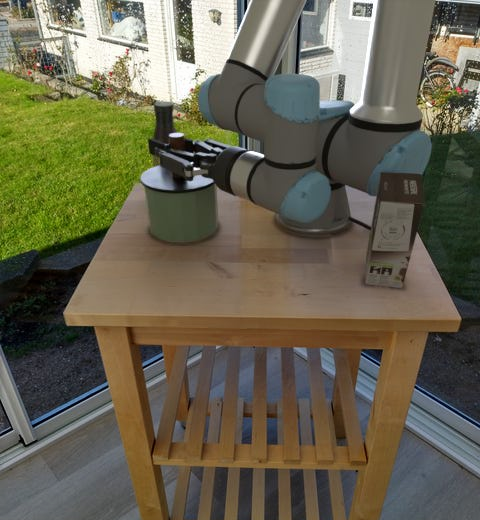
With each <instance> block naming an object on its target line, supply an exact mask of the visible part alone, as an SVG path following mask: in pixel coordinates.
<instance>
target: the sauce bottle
mask: <svg viewBox="0 0 480 520" xmlns="http://www.w3.org/2000/svg"><path fill="white" fill-rule="evenodd" d="M153 110H154V113H155V125H154V126H155V127H154V130H153V131H154V132H153V135H152V139H155V140H157V141H160V142H163V143H166V144H169V134H170V133H178V131H177V130H176V127H175V125H174V123H175V122H174V110H175V109H174V103H173V102H170V101H166V100H165V101H163V100H162V101H156V102H154V103H153ZM159 165H160V159H159V157H156V156H154V155H152V168H153V167H156V166H159Z"/></svg>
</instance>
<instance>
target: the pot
mask: <svg viewBox="0 0 480 520" xmlns="http://www.w3.org/2000/svg"><path fill="white" fill-rule="evenodd" d="M144 194H145V202H146V209H147V217H148V226H149V230H150V233H151V235H153V236H155V237H156V238H157V239H160V240H163V241H167V242H174V243H187V242H195V241H199V240H202V239H206V238H208V237H210V236H211V235H212V234H214V233H215V232H217V230H218V227H219V212H218V209H219V207H218V187H217V185H216V184H214V185H212V186H210V187H208V188H206V189H203V190H199V191H195V192H188V193H163V192H157V191H153V190H150V189H148V188H146V187H144Z"/></svg>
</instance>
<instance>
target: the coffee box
mask: <svg viewBox="0 0 480 520" xmlns="http://www.w3.org/2000/svg"><path fill="white" fill-rule="evenodd" d="M422 178H423V177H422V175H421V174H413V173H385V172H381V173H380V179H379V184H378V190H377V196H375V203H374V209H373V214H372V220H371V225H370V227H371V231H370V230H369V231H370V232H369V237H368V244H367V250H366V256H365V257H366V258H365V280H364V283H365V285H370V286H379V287H388V288H395V289H396V288H397V289H402V288H403V286H404V283H405V279H406V276H407V272H408V267H409V264H410V260H411V257H412V252H413V248H414V245H415V242H416V238H417V235H418V230H419V226H420V222H421V219H422V216H423V211H424V207H425V205H426V203H425V201H426V200H425V194H424V185H423V179H422Z"/></svg>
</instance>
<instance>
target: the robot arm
mask: <svg viewBox="0 0 480 520" xmlns="http://www.w3.org/2000/svg"><path fill="white" fill-rule="evenodd" d="M436 1H437V0H373V4H372V5H373V7H372V12H371V21H370V26H369V34H368V44H367V50H366V57H365V65H364V73H363V79H362V88H361V95H360V100H359V101H358V102H356V104H355V103H354V102H352V101H349V100H338V99H337V100H336V99H335V100H320V99H321V86H320V82H319V80H318V79H317V78H315V77H314V76H311V75H309V74H305V73H304V74H303V73H301V74H300V73H280V74H276V71H277V70H278V66H279V64H280V62H281V61H282V58H283V55H284V53H285V51H286V49H287V46H288V44H289V41H290V39H291V38H292V35H293V32H294V30H295V27H296V25H297V23H298V20H299V18H300V17H301V14H302V11H303V9H304V7H305V5H306V2H307V0H250V1H249V3H248V5H247V9H246V10H245V13H244V15H243V18H242V21H241V23H240V26H239V27H238V31H237V33H236V35H235V38H234V41H233V43H232V45H231V48H230V50H229V53H228V55H227V57H226V61H225V63H224V64H223V68H222V70H221V72H220V73H217V74H212V75H210V76H209V77H207V78H206V79H205V80H204V81H203V82H202V83H201V85H200V87H199V90H198V94H197V106H198V110H199V112H200V115H201V117H203V118H204V120H206V122H208V123H209V124H212V125H213V126H216V127H218V128H219V129H221V130H223V131H229V132H231V133H236V134H238V135H241V136H244V137H247V138H250V139H253V140H256V141H257V142H261V143H263V154H262V153H260V152H256V151H253V150H249V149H246V148H244V147H240V146H236V145H230V144H226V143H223V142H220V141H217V140H213V139H210V138H205V139H204V140H203V141H202V140H200V139H196V140H193V139H190V138H188V137H185V136H184V139H185V152H184V151H180V150H176V149H172V146H171V145H170V144H166V143H163V142H160V141H157V140H155V139H153V137H151V138H147V144H148V153H149V155H151V156H153V155H154V156H156V157H159V159H160V167H163V168H165V169H167V170H169V171H171V172H174V173H176V174H178V175H180V176H182V177H184V178H185V179H186V181H193V178H194V176H196V175H201V176H202V177H204V178H210V179H212V180H213V181H214V182H215V184H216V185H217V189H219V190H220V191H222V192H224V193H226V194H230V195H232V196H234V197H238V198H240V199H242V200H245V201H246V202H249V203H252V204H254V205H255V206H259V207H261V208H263V209H265V210H268V211H270V212H272V213H275V220H276V222H277V224H278V225H279V226H280V227H282V228H283V229H284V230H287V231H288V232H292V233H295V234H300V235H306V236H328V235H330V236H334V235H338V234H341V233H343V232H344V231H346V230H347V229H348V228H349V227H350V224H351V222H352V223H354V224H356V225H359V226H360V227H363V228H364V229H366V230H368V231H371V225H368V224H366V223H365V222H363V221H360V220H358V219H356V218H354V217H352V214H351V208H350V203H349V199H348V193H347V188H346V186H347V187H349V188H351V189H355V190H357V191H360V192H362V193H365V194H367V195H368V196H369V197H376V196H377V190H378V184H379V179H380V173H381V172H385V173H413V174H421V176H422V175H423V173H424V171H425V170H426V167H427V166H428V164H429V160H430V157H431V153H432V148H433V147H432V145H433V144H432V142H431V141H432V140H431V137H430V135H429V134H428V133H426V131H424V130H421V129H422V124H423V123H422V122H423V118H424V113H423V112H422V110H421V109H420V107H419V106H418V105H417V98H418V93H419V88H420V84H421V77H422V73H423V68H424V62H425V58H426V57H425V55H426V53H427V52H426V51H427V47H428V42H429V37H430V31H431V26H432V21H433V16H434V10H435V7H436V6H435V5H436ZM170 134H172V133H170Z"/></svg>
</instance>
